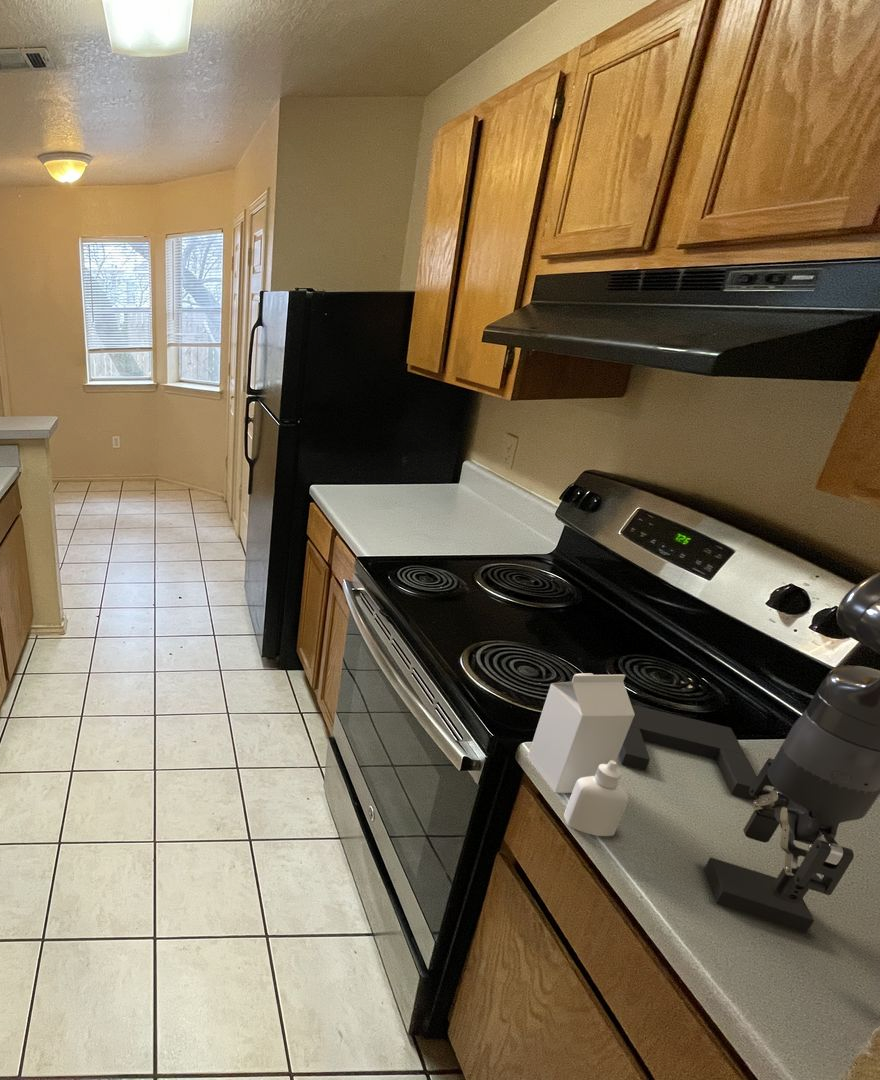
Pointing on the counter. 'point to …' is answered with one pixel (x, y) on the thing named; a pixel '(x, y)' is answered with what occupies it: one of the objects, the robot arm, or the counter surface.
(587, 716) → the milk carton
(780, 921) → the small pad
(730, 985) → the counter surface
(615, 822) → the eye dropper bottle
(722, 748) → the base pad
